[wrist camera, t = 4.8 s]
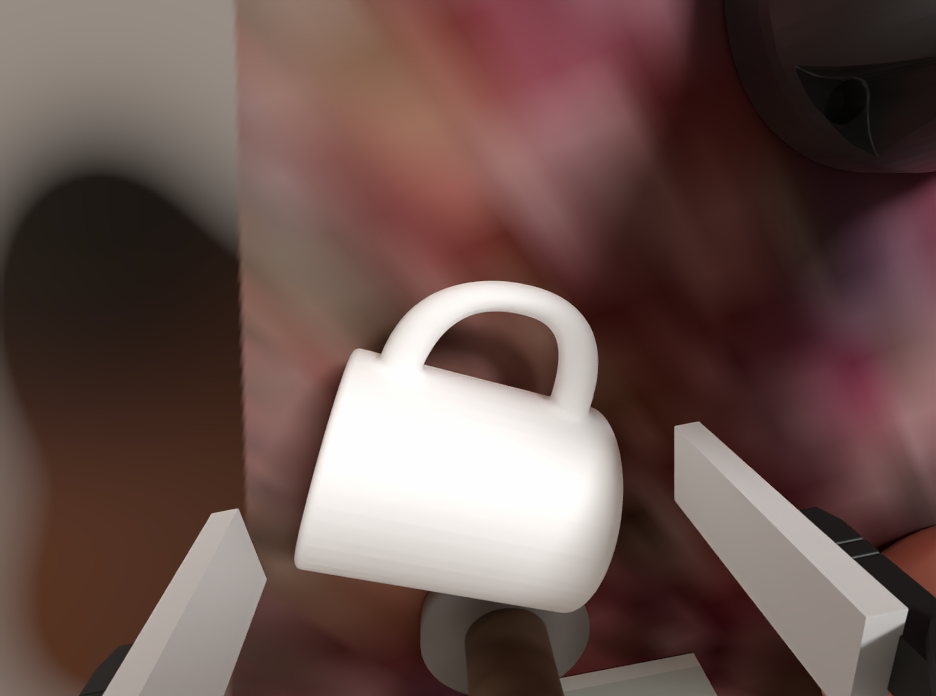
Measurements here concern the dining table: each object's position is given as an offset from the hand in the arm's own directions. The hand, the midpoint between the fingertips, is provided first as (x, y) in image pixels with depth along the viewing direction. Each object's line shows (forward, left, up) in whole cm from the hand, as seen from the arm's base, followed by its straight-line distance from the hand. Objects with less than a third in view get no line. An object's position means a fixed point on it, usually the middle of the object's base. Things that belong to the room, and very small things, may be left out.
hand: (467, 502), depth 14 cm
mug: (0, 0, -8) cm, 8 cm away
